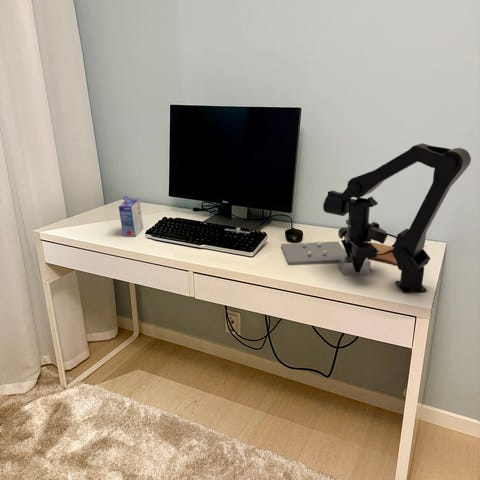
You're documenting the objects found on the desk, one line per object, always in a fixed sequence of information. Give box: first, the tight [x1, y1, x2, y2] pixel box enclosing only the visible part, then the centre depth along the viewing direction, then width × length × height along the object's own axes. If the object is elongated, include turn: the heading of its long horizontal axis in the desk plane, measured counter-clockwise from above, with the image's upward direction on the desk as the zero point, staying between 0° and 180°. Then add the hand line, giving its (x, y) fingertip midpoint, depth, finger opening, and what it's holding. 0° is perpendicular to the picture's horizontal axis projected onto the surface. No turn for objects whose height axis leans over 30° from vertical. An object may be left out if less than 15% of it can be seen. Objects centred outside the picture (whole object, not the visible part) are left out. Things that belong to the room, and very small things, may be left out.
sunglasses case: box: [364, 241, 398, 267], centre depth 142 cm, size 18×7×7 cm, turn 54°
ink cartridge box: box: [118, 194, 144, 237], centre depth 168 cm, size 10×6×14 cm, turn 174°
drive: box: [338, 256, 372, 277], centre depth 131 cm, size 5×8×4 cm, turn 93°
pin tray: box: [280, 241, 347, 266], centre depth 145 cm, size 16×20×2 cm
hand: (354, 268), depth 131 cm, fingers closed on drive, 5 cm apart
